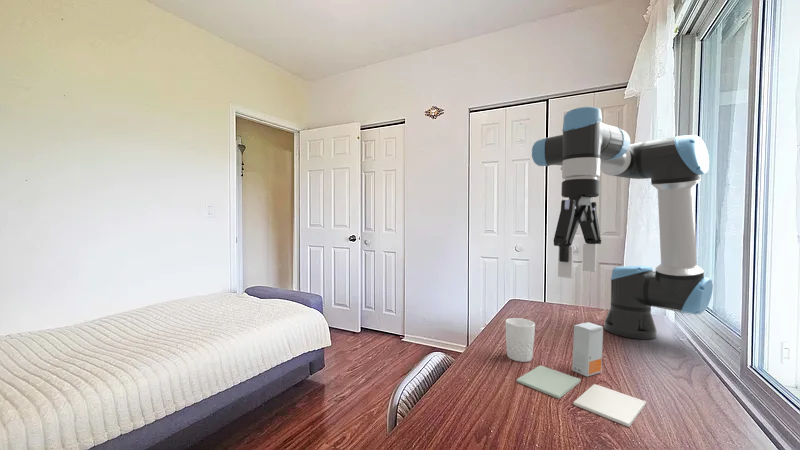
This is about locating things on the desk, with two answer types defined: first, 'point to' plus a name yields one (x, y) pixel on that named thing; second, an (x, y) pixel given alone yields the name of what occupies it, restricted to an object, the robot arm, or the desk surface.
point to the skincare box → (587, 349)
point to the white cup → (520, 339)
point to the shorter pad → (549, 381)
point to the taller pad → (610, 404)
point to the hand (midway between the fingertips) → (577, 274)
